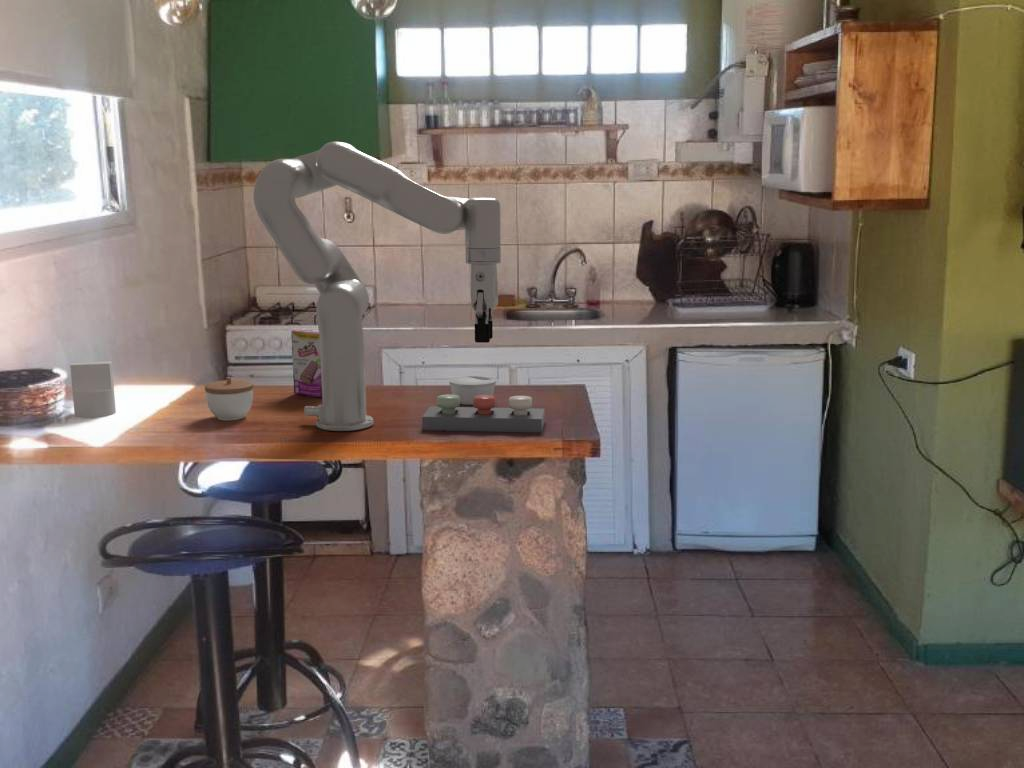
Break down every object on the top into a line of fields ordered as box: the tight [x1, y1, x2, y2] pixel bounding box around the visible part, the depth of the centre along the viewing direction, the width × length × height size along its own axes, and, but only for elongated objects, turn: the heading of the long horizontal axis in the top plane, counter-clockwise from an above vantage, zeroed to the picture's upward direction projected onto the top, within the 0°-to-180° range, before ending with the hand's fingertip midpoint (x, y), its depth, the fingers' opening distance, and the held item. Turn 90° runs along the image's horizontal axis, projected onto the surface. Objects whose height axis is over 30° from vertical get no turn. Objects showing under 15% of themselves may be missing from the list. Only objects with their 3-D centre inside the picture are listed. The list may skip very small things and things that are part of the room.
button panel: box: [421, 405, 546, 433], centre depth 236 cm, size 26×10×3 cm, turn 84°
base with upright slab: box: [69, 360, 117, 419], centre depth 248 cm, size 9×9×12 cm
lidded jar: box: [204, 376, 254, 422], centre depth 244 cm, size 11×11×9 cm
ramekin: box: [449, 375, 497, 406], centre depth 261 cm, size 11×11×5 cm
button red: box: [472, 395, 497, 415], centre depth 236 cm, size 5×5×5 cm
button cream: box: [508, 395, 533, 416], centre depth 235 cm, size 5×5×5 cm
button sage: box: [436, 394, 461, 414], centre depth 237 cm, size 5×5×5 cm
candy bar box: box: [290, 327, 322, 399], centre depth 267 cm, size 11×5×16 cm, turn 59°
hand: (483, 339), depth 233 cm, fingers open, 4 cm apart
